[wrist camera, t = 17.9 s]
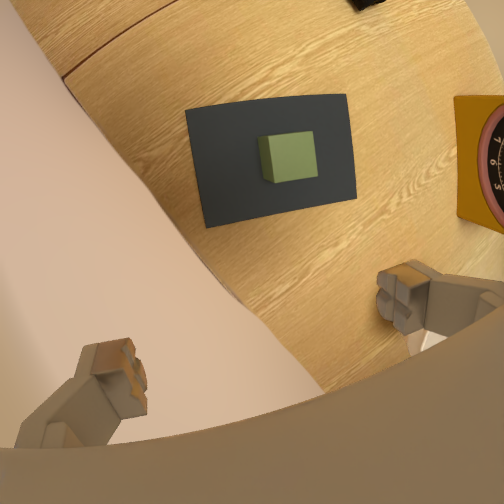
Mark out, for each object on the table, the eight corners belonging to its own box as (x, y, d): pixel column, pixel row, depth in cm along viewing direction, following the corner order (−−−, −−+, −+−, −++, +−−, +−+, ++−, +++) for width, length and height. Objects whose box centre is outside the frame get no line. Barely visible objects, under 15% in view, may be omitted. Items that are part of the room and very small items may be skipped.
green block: (263, 178, 37) (274, 183, 33) (257, 136, 36) (268, 136, 31) (302, 172, 38) (318, 176, 34) (297, 131, 36) (312, 130, 32)
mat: (206, 227, 38) (206, 228, 38) (185, 110, 33) (185, 110, 33) (355, 198, 41) (357, 198, 41) (344, 94, 36) (346, 93, 36)
